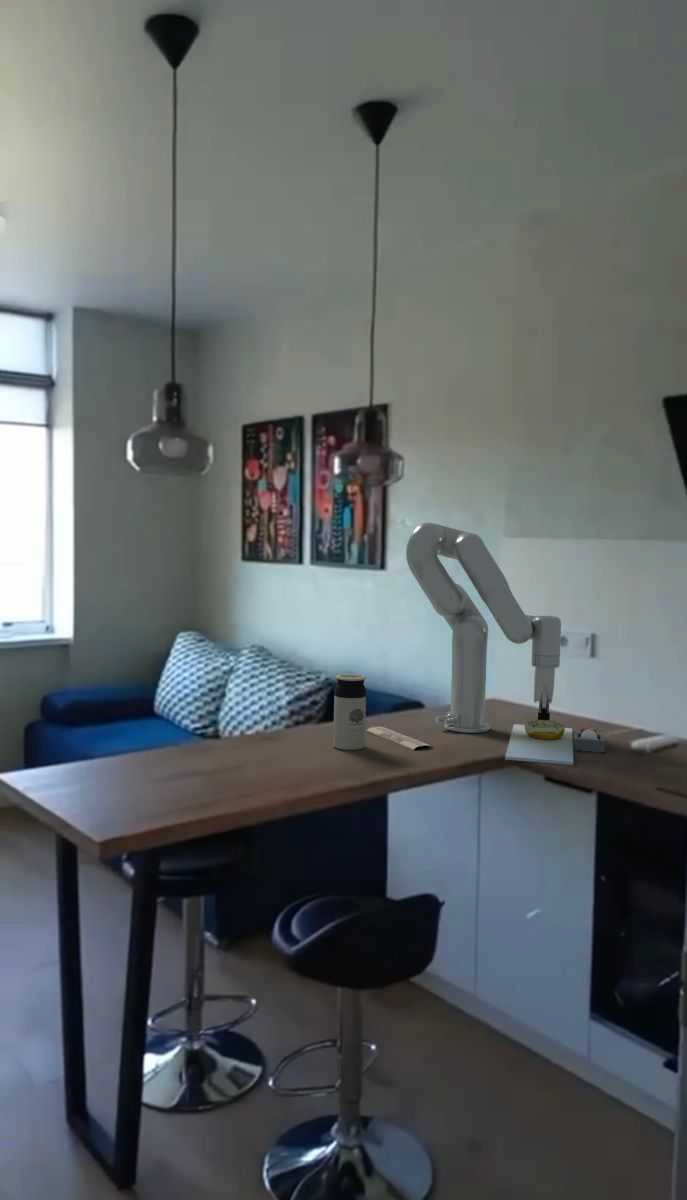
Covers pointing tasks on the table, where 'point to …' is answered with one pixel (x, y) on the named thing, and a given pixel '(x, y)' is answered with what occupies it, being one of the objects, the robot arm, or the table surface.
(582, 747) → the dome collar
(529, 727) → the decorated donut
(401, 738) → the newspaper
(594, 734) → the dome button
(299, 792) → the table surface
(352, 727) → the travel mug
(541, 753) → the white flat board
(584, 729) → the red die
